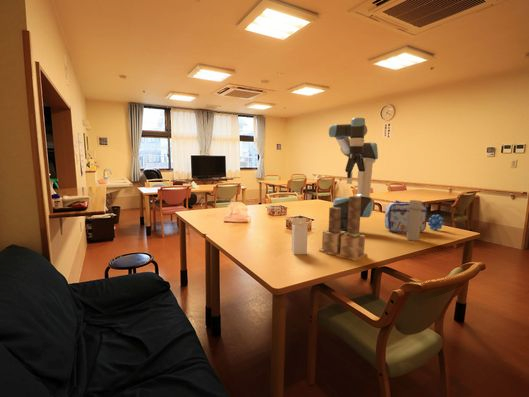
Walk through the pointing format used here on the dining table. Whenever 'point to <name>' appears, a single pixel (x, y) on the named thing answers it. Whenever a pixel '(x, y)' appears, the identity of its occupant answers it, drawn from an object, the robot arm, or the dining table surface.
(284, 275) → the dining table surface
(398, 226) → the lunch box
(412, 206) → the tall beige block
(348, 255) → the stand
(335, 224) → the left post
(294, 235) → the milk carton
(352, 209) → the right post
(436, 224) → the blue bumpy wheel
